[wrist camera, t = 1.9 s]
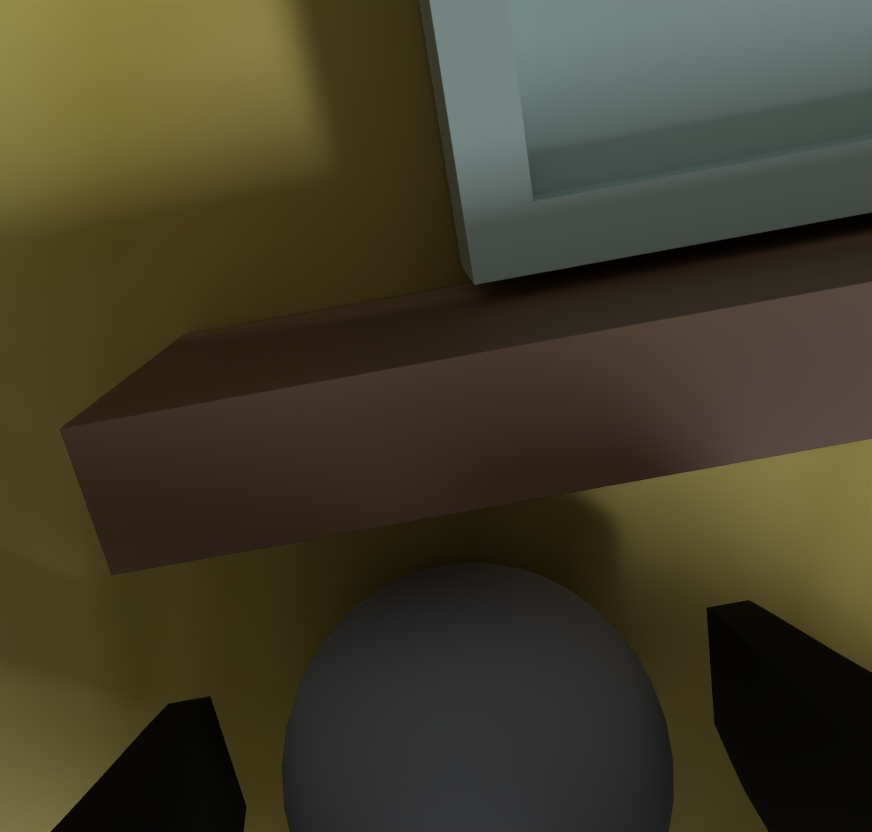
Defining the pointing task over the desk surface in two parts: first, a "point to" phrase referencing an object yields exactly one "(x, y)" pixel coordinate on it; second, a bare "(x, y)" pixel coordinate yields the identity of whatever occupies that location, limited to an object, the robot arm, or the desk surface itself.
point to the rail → (483, 395)
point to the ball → (476, 715)
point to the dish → (645, 123)
